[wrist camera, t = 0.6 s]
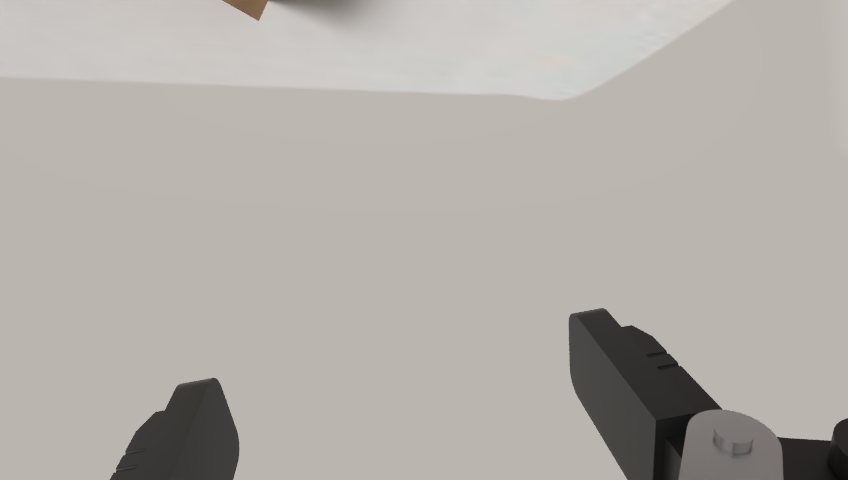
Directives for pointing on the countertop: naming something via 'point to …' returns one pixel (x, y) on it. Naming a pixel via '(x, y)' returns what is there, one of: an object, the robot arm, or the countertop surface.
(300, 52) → the countertop surface
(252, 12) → the parts box
